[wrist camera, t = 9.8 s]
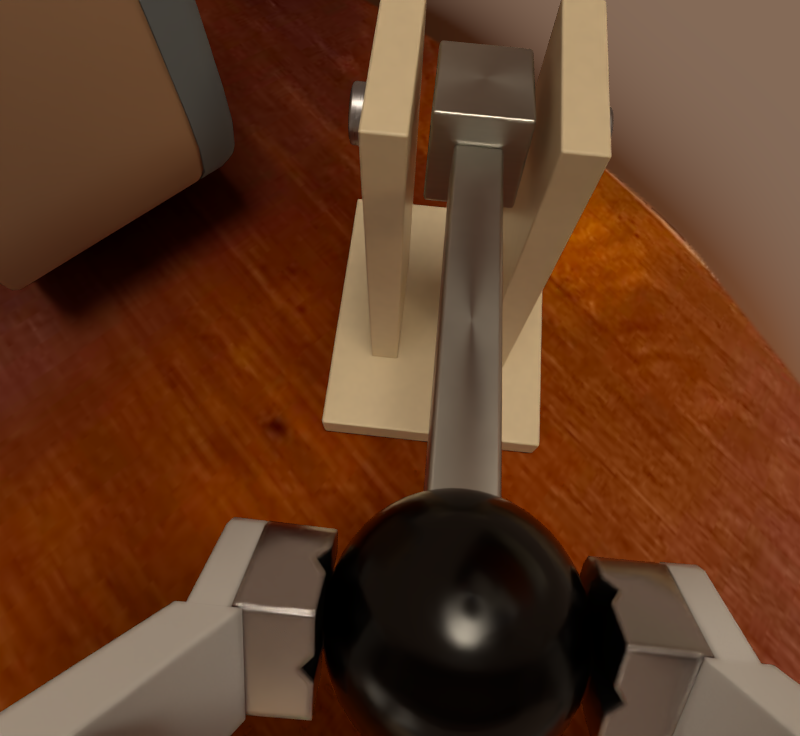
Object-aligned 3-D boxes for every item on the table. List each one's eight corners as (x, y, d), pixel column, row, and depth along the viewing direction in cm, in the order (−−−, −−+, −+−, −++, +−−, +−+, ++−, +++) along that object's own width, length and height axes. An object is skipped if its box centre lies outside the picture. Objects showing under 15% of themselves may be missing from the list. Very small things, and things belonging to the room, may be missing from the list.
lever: (556, 788, 8) (659, 818, 5) (311, 759, 9) (279, 773, 5) (533, 158, 16) (571, 23, 13) (404, 145, 16) (411, 8, 13)
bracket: (531, 453, 22) (702, 291, 10) (324, 430, 22) (253, 244, 10) (537, 233, 26) (667, -77, 14) (358, 215, 26) (335, -107, 14)
